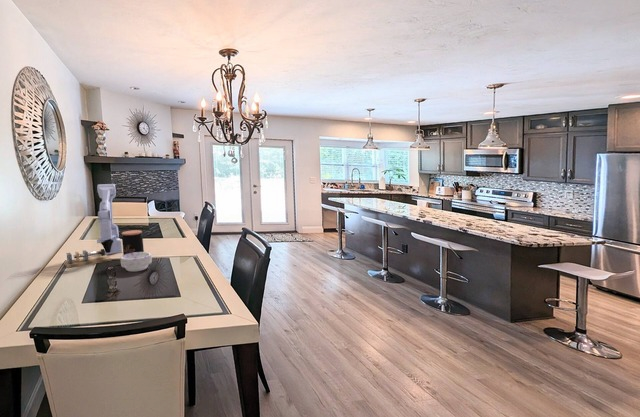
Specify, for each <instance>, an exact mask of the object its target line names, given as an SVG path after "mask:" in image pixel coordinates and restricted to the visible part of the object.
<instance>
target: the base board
mask: <svg viewBox="0 0 640 417" xmlns="http://www.w3.org/2000/svg"><path fill="white" fill-rule="evenodd" d="M79 259H80V262H77V261H76V259H72V264H69V263H68V262H67V260H64V261H63V263H64V265H65V267H66V268H68V269H69V268H75V267H77V268H78V267H82V266H87V265H95V264H100V263H106V262H112V257H110V256H109V255H106V254H105V256H101V255H94V256H88V260H89V261H85V260H83V257H81V258H79Z"/></svg>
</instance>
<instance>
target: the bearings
mask: <svg viewBox="0 0 640 417" xmlns="http://www.w3.org/2000/svg"><path fill="white" fill-rule="evenodd" d="M88 253H89V252H88V251H87V250H82V254H84V257H82V258H83V260H85V261H89V260H88V258H89V256H88ZM79 254H80V253H79V251H75V255H77V258H75V260H76V261H77V262H80V259H81V258H79ZM72 260H73V257H72V254H71V252H66V261H67V262H68V263H69V264H72Z"/></svg>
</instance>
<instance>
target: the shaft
mask: <svg viewBox="0 0 640 417" xmlns="http://www.w3.org/2000/svg"><path fill="white" fill-rule="evenodd" d="M105 255H106V254H105V249H104V248H101V249H100V250H99V251H93V252H88V257H95V256H105ZM83 257H84V254H83V253H79V259H82V258H83ZM76 258H77V255H76V254H74V255H73V260H76Z"/></svg>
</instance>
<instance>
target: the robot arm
mask: <svg viewBox="0 0 640 417" xmlns="http://www.w3.org/2000/svg"><path fill="white" fill-rule="evenodd" d="M96 189H97V190H96V191H97V193H98V194H97V195H98V197H99V199H101V201H100V203H99V209H98V210H99V211H98V212H97V218H98V223H99V228H100V230H99V231H100V237H99V238H98V239H96V243H97V244H101V245H102V247H103V249H104V250H105V255H107V256H109V255H113V254H114V255H115V254H120V253H123V245H122V239H121V238H119V237H120V236H119V235H120V234H119V226H118V225H117V224H115V223H114V221H113V220H114V217H113V216H114V214H113V200H114V199H115V198H116V196H117V194H116V193H117V190H116V185H115V183H107V184H106V183H105V184H100V183H99V184H97V188H96Z"/></svg>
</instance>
